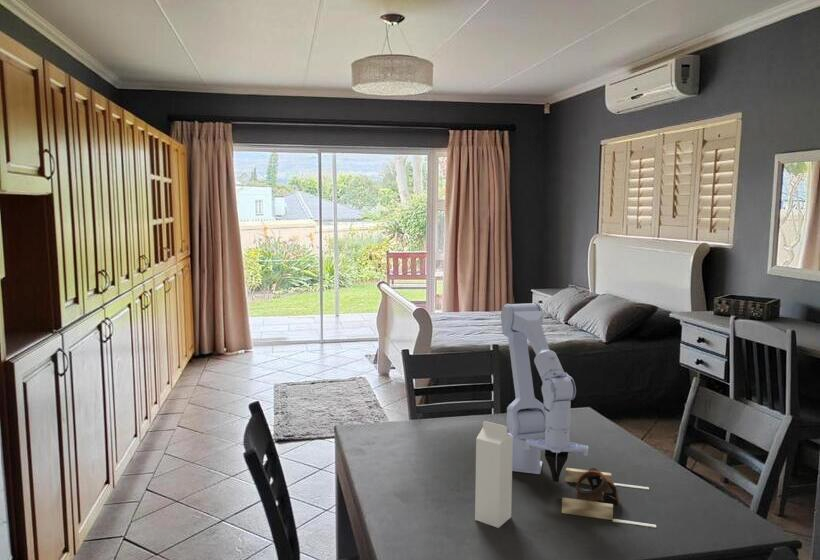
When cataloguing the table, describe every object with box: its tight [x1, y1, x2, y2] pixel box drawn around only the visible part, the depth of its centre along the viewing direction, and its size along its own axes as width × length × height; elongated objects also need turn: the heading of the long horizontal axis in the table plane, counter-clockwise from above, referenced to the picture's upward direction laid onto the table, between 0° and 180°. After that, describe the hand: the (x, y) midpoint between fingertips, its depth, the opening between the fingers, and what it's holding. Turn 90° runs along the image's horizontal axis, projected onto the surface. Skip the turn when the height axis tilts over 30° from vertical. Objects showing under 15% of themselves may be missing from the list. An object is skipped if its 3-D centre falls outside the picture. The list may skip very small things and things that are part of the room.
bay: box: [612, 482, 657, 528], centre depth 143 cm, size 9×20×1 cm, turn 163°
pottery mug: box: [575, 467, 620, 506], centre depth 145 cm, size 12×10×8 cm
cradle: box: [561, 467, 614, 521], centre depth 146 cm, size 11×18×3 cm, turn 163°
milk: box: [474, 420, 513, 529], centre depth 135 cm, size 6×6×22 cm
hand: (555, 480), depth 148 cm, fingers closed
